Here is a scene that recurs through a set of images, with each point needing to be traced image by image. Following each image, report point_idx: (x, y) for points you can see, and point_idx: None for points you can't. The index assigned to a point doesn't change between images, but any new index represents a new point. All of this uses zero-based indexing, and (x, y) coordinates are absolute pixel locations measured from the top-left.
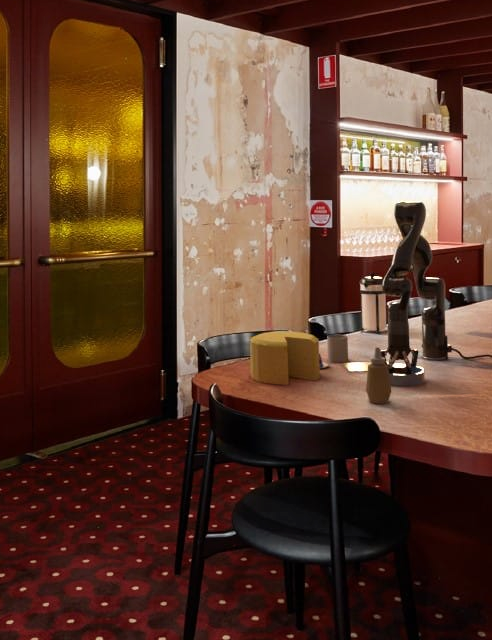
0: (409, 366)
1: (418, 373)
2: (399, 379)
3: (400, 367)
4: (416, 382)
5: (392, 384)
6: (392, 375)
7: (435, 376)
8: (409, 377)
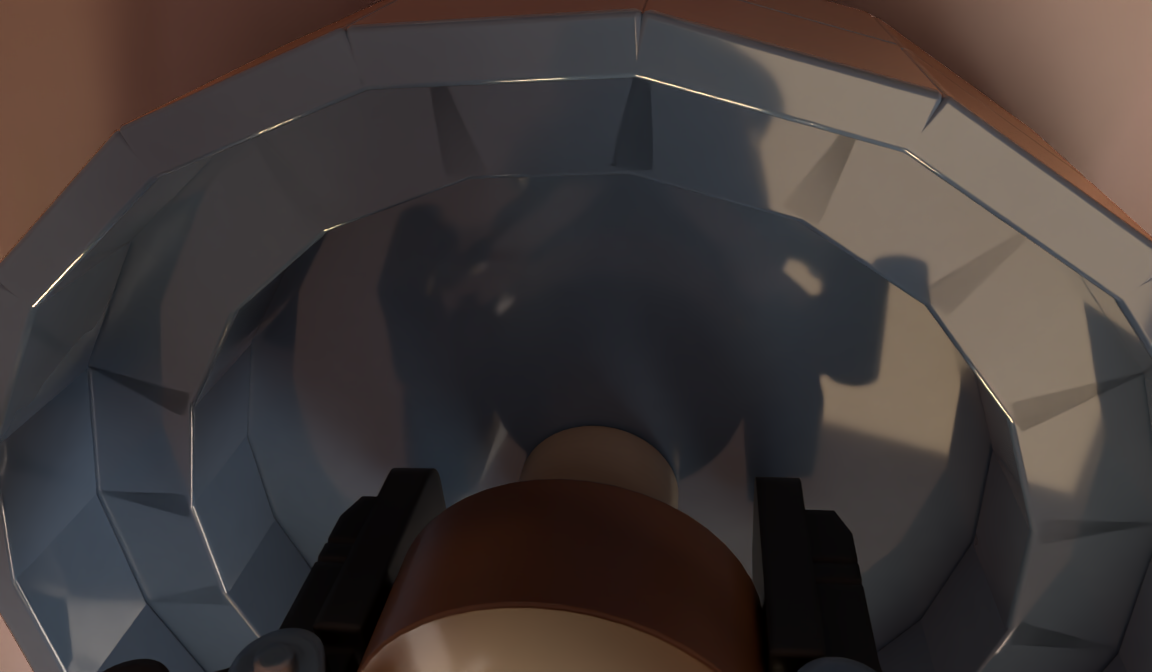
0: (281, 665)
1: (69, 197)
2: (753, 9)
3: (560, 610)
4: (266, 54)
5: (928, 57)
6: (996, 131)
7: (13, 663)
8: (405, 10)
